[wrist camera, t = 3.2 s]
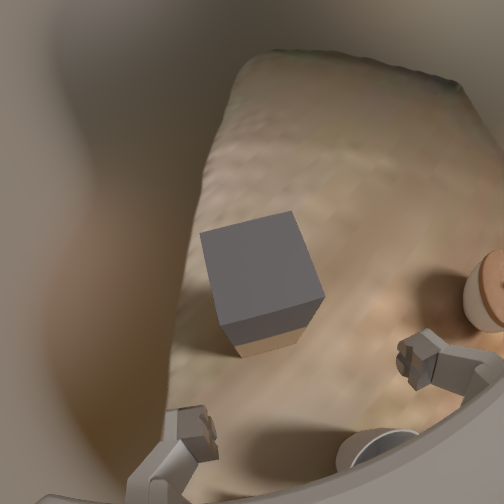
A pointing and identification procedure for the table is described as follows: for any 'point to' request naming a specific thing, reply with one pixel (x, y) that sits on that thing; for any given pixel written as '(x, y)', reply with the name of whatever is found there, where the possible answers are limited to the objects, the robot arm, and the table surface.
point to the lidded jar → (486, 294)
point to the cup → (370, 445)
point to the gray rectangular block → (261, 278)
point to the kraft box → (269, 343)
